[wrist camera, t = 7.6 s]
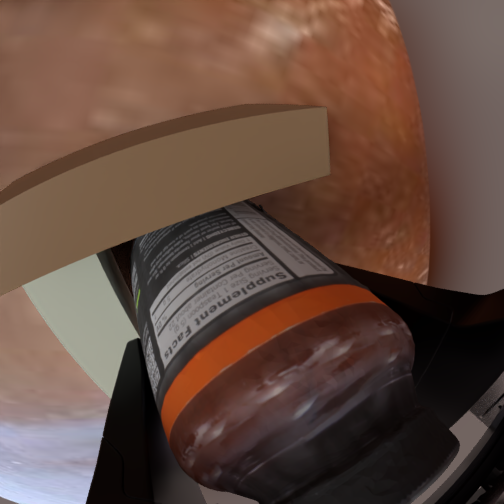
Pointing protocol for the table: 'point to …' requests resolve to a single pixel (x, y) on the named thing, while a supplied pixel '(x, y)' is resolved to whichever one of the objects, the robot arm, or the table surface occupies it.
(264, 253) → the supplement bottle
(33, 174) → the wall board
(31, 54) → the table surface
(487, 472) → the robot arm
